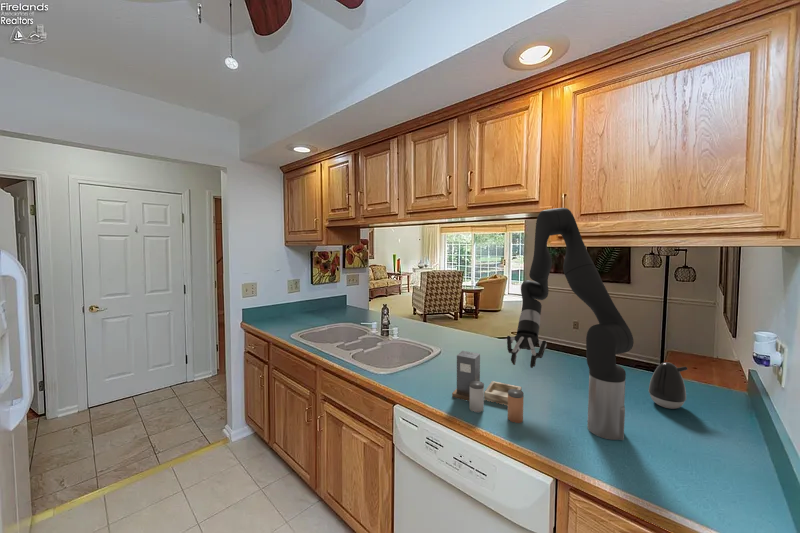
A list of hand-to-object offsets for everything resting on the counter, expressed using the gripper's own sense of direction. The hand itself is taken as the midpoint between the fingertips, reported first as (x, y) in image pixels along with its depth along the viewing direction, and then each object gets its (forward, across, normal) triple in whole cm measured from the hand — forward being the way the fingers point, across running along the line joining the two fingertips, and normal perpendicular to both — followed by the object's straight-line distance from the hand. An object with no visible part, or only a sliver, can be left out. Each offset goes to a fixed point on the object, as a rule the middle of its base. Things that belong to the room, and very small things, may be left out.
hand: (522, 365), depth 116 cm
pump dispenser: (-7, +44, +27) cm, 52 cm away
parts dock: (+9, -7, +11) cm, 16 cm away
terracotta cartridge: (+18, 0, +2) cm, 18 cm away
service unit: (+12, -19, +8) cm, 24 cm away
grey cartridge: (+18, -13, +2) cm, 22 cm away
